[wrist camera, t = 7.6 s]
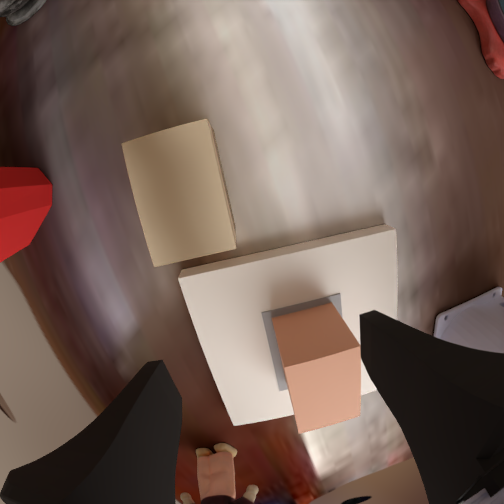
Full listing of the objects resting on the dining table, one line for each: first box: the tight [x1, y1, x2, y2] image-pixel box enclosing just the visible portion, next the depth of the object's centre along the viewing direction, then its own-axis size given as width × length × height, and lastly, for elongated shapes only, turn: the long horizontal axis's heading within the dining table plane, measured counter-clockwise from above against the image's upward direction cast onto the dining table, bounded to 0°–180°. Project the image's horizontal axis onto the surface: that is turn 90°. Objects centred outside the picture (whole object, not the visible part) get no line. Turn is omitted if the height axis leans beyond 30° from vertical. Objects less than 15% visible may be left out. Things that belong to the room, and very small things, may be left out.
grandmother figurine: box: [180, 443, 259, 504], centre depth 19 cm, size 8×4×13 cm, turn 124°
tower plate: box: [178, 224, 398, 426], centre depth 20 cm, size 14×14×2 cm
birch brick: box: [122, 118, 236, 267], centre depth 15 cm, size 4×6×5 cm, turn 12°
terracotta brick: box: [272, 302, 361, 434], centre depth 17 cm, size 4×6×5 cm, turn 13°
